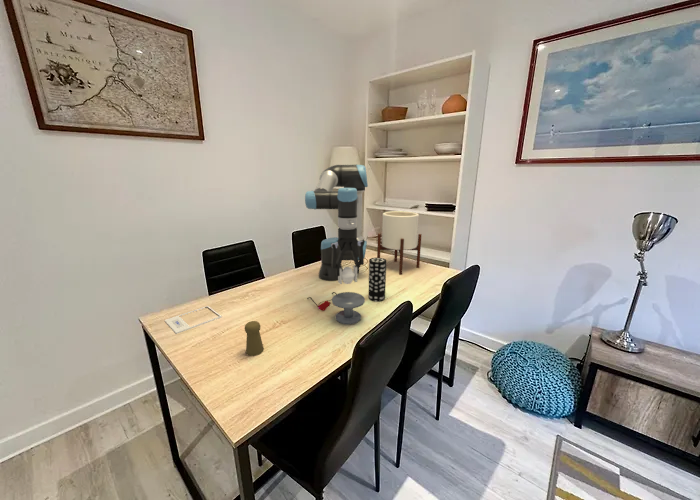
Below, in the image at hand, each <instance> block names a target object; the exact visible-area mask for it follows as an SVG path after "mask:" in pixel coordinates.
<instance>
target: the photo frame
mask: <svg viewBox="0 0 700 500" xmlns="http://www.w3.org/2000/svg"><path fill="white" fill-rule="evenodd" d="M205 307H206V308H209V309H210V310H211V311H212V312H214V313H215V314H216V315H217V317H214V318H212V319H211V318H210V319H209V320H205V321H203V322H199V323H198V324H194V325H193V326H190V325H189V324H188V323H187V322H186V321H184V319H183V318H182V317H183V316H182V315H184V316H186V315H185V314H187V315H189V314H188V313H190V314H192V313H191V312H193V313H195V312H194V311H196V312H198V311H197V310H199V311H201V310H200V309H202V310H204V309H203V308H205ZM206 308H205V309H206ZM179 316H181V317H179ZM221 318H223V316H222V315H221V314H220V313H218V312H217V311H216V310H214V308H213V307H211V306H209V305H206V306H203V307H200V308H197V309H194V310H191V311H187V312H184V313H181V314H179V315H175V316H172V317H169V318H167V319H164V322H165V323H166V324H167V326H168V327H170V329H171V330H172V331H173V332H174V333H175V334H176V335H177V334H180V333H184V332H185V331H189V330H191V329H194V328H197V327H199V326H201V325H205V324H207V323H210V322H213V321H215V319H216V320H217V319H218V320H219V319H221Z"/></svg>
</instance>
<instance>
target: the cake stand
mask: <svg viewBox="0 0 700 500" xmlns="http://www.w3.org/2000/svg"><path fill="white" fill-rule="evenodd" d="M365 303H366V301H365V297H364V295H362V294H360V293H358V292H352V291H351V292H350V291H345V292H339V293H336V294H334V295H333V296H332V297H331V304H332V305H334V306H335V307H337V308H340V309H342V310H339V311H338V312H337V313H336V314H335V320H336V321H337V322H338V323H339V324H342V325H354V324H357V323H359V322H360V321H361V320H362V314H361V313H360V312H359V311H357V310H354V309H356V308H360V307H362V306H363V305H364V304H365Z"/></svg>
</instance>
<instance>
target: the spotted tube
mask: <svg viewBox="0 0 700 500" xmlns="http://www.w3.org/2000/svg"><path fill="white" fill-rule="evenodd" d="M386 280H387V258H383V257H380V258H377V257H371V258H369V260H368V300H369V301H371V302H376V303H377V302H379V303H380V302H383V301H385V300H386V287H387V286H386V283H387V282H386Z"/></svg>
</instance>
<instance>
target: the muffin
mask: <svg viewBox="0 0 700 500" xmlns="http://www.w3.org/2000/svg"><path fill="white" fill-rule="evenodd" d="M354 276H355V273H354V272H353V268H351V266H345V267H343V271H342V283H344V284H345V285H349V284H352V283H353V281H354V280H353V279H354Z"/></svg>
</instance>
